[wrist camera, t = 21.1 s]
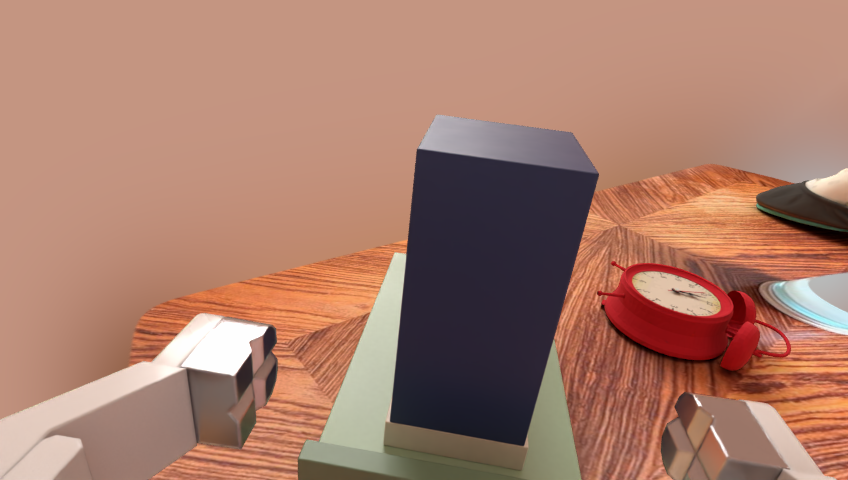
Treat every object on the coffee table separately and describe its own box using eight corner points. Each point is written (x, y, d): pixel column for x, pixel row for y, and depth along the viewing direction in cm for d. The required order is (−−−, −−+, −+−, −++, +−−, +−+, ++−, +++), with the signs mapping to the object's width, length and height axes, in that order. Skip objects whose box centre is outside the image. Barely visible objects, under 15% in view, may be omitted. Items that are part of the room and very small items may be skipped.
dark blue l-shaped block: (522, 471, 22) (606, 174, 16) (382, 445, 22) (411, 147, 16) (510, 288, 36) (552, 97, 30) (426, 275, 36) (450, 83, 30)
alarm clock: (611, 249, 50) (791, 266, 42) (609, 303, 52) (780, 328, 45) (591, 292, 41) (811, 322, 34) (589, 355, 43) (796, 395, 36)
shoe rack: (560, 632, 21) (609, 516, 18) (299, 579, 22) (296, 458, 19) (527, 334, 41) (547, 252, 38) (389, 312, 42) (396, 229, 38)
